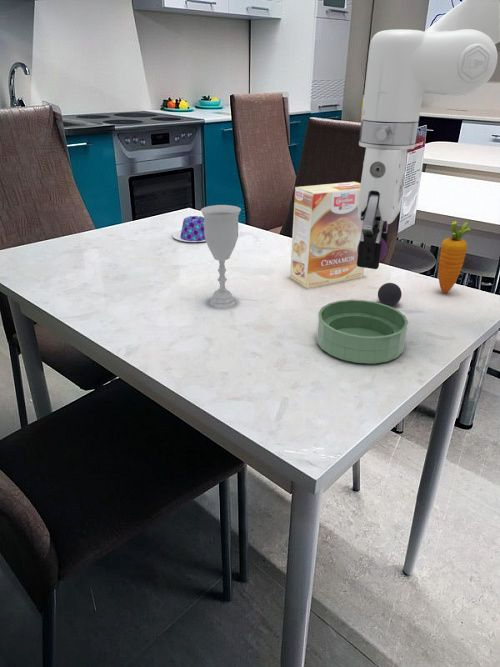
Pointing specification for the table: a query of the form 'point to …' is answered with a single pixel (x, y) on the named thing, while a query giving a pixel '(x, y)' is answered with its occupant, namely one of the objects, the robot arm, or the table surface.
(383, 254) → the plum ball
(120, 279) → the table surface
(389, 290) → the charcoal ball
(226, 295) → the chalice
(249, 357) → the table surface
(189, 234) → the pudding
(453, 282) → the carrot
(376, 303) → the bowl
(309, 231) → the coffeecake box
